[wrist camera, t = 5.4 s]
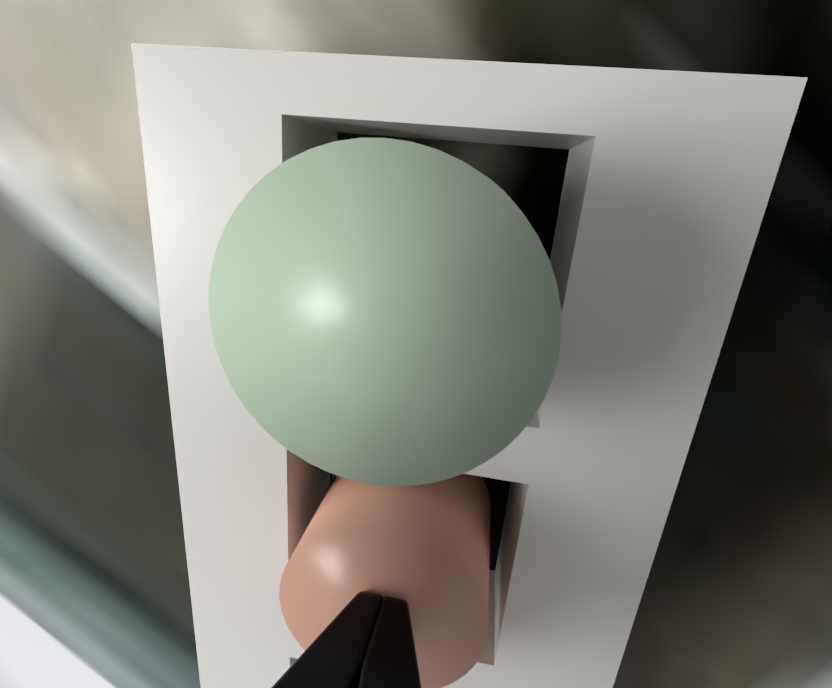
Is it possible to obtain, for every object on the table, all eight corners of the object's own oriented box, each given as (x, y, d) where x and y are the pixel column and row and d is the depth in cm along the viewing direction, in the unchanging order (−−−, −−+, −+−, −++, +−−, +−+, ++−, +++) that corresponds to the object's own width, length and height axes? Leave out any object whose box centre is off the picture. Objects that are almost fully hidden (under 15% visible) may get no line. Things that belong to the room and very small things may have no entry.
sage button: (557, 166, 7) (598, 152, 4) (518, 395, 8) (527, 511, 5) (315, 147, 7) (195, 123, 4) (313, 365, 8) (219, 457, 6)
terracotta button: (501, 447, 10) (502, 551, 7) (480, 578, 11) (473, 712, 8) (337, 421, 10) (277, 510, 7) (334, 550, 12) (280, 667, 9)
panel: (717, 108, 8) (807, 77, 6) (544, 753, 14) (553, 870, 11) (225, 79, 9) (131, 42, 7) (256, 683, 15) (210, 777, 12)
